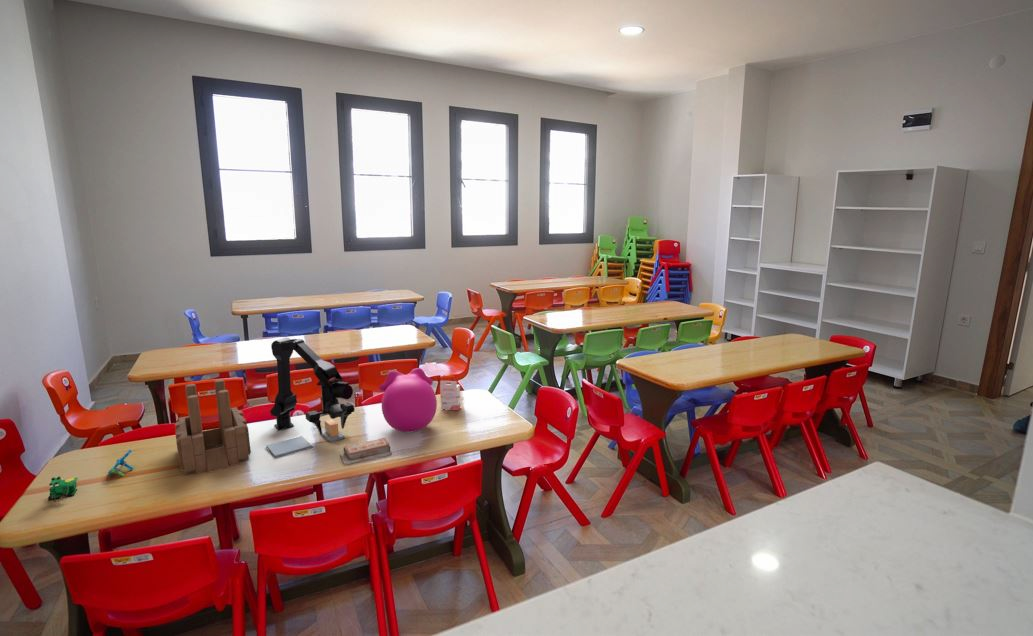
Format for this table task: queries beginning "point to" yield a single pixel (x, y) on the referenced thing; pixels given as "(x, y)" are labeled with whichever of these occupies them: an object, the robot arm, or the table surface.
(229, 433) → the wooden toy structure
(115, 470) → the blue green toy
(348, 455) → the packaged product
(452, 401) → the ink cartridge box
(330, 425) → the stub
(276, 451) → the ticket board
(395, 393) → the figurine
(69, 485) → the crocodile
